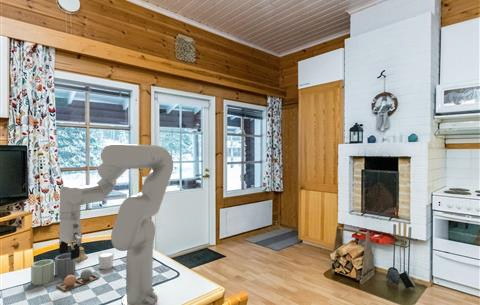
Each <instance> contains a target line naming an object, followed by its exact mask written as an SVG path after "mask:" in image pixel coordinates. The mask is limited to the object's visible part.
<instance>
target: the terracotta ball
mask: <svg viewBox="0 0 480 305" xmlns="http://www.w3.org/2000/svg"><path fill="white" fill-rule="evenodd" d="M76 279H77V277H76V276H75V275H74V274H71V275H68V276H65V278H64V279H63V283H64V284H65V285H66V286H72V285H74V284H75V282H76Z"/></svg>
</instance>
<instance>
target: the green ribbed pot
mask: <svg viewBox="0 0 480 305" xmlns="http://www.w3.org/2000/svg"><path fill="white" fill-rule="evenodd" d="M54 279H55V259H42V260H38V261H34V262H33V263H32V264H31V265H30V283H31V284H32V285H34V286H36V285H37V286H38V285H43V284H47V283H50V282H52V281H53V280H54Z"/></svg>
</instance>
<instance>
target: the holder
mask: <svg viewBox="0 0 480 305" xmlns="http://www.w3.org/2000/svg"><path fill="white" fill-rule="evenodd" d="M99 278H100V276H98V275H96V274H93V273H92V276H91V277H90V278H89V279H88V280H82V279H81V277H76V282H75V284H74V285H72V286H66V285H65V284H64V282H62V283H61V284H60V283H59V284H56V288H57V289H58V290H60V291H63V292H64V293H65V292H68V291H71V290H74V289H76V288H78V287H81V286H84V285H87V284H89V283H92V282H94V281H97V280H99Z"/></svg>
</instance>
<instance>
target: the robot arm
mask: <svg viewBox="0 0 480 305" xmlns="http://www.w3.org/2000/svg"><path fill="white" fill-rule="evenodd" d="M100 159H101V162H102V163H100V165H98V167H97V173H98V176H99V177H100V179H99V181H98V182H96V183H95V184H89V185H88V184H87V185H82V186H80V185H79V184H78V185H77V184H65V185H62V186H61V187H60V189H59V213H58V215H59V216H58V217H59V218H58V219H59V230H58V240H59V241H58V244H59V245H58V252H59V255H62V254H67V253H68V252H69V245H70V247H71V249H70V253H71V259H75V258H79V255H80V246H81V247H82V240H83V231H82V222H81V206H83V205H88V204H94V203H97V202H101V201H102V200H104V199H105V198H107V196H109V195H110V193H112V192H113V191H114V189H115V188H116V185H117V180H118V179H119V178H120V177H121V176H122V175H123V174H124V173H125V172H127V170H128V169H134V170H139V169H140V170H142V169H151V170H150V172H149V173H148V174H147V176H146V177H145V179H144V182H143V184H142V188H141V190H140V192H139V193H137V194H133V195H131V196H128V197H126V198H125V200H123V201H122V203H121V205H120V206H119V209H118V212H117V215H116V218H115V221H114V224H113V228H112V231H111V235H110V240H111V244H112V246H113V247H114V249H115V250H117V251H119V252H124V251H125V252H126V263H125V264H126V266H125V268H126V270H125V272H126V274H125V277H126V278H125V280H126V281H125V282H126V283H125V284H126V286H125V292H126V293H125V295H124V296H123V297H122V298H121V305H153V304H154V303H155V302H156V300H157V299H158V295H157V292H156V291H155V289H154V288H153V283H154V282H153V279H154V278H153V277H154V276H153V264H154V263H153V262H154V260H153V259H154V241H155V236H156V235H155V234H156V225H155V223H154V220H152V219H151V218H152V217H154V216H156V215H157V214H158V212H159V211H160V208H161V205H162V203H163V200H164V197H165V194H166V191H167V188H168V186H169V182H170V180H171V177H172V175H173V170H174V160H173V158H172V155H171V154H170V152H169V151H168V150H167V148H164V147H163V146H160V145H154V144H153V145H151V144H148V145H147V144H129V143H116V142H115V143H114V142H113V143H108V144H107V145H105V146H104V147H103V149H102V150H101V152H100Z"/></svg>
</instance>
